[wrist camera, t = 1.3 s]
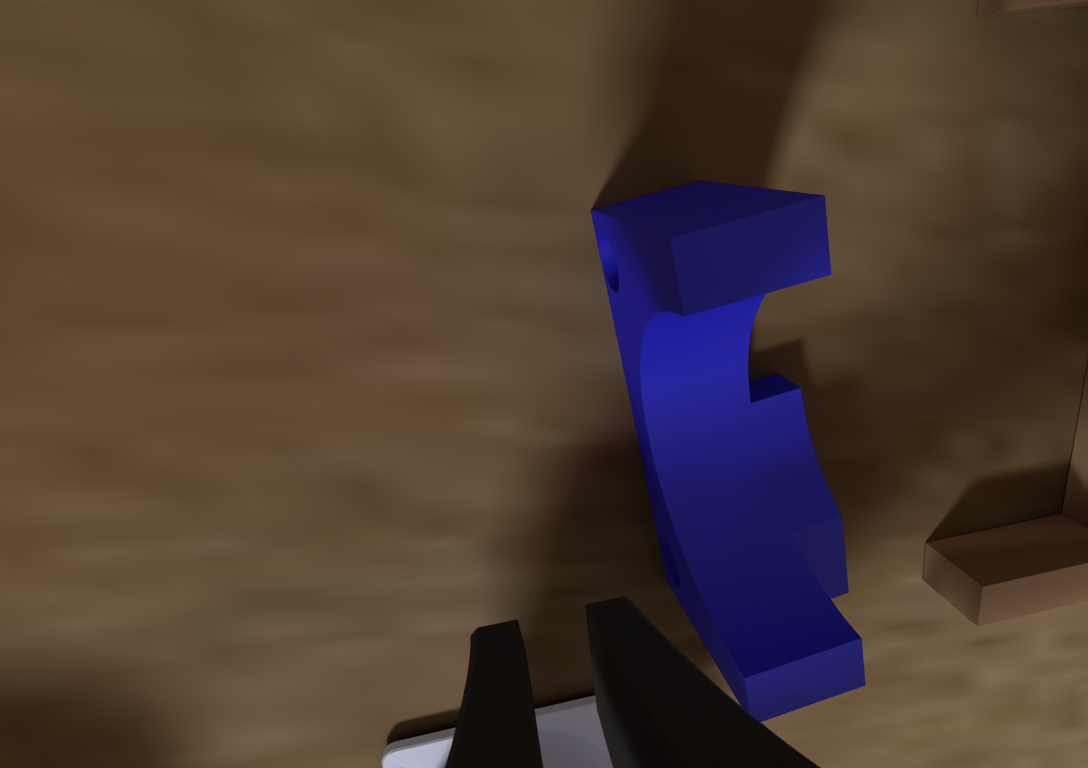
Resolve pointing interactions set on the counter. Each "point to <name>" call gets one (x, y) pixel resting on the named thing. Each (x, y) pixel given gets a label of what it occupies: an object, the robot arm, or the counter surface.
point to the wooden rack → (1027, 547)
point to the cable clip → (732, 434)
